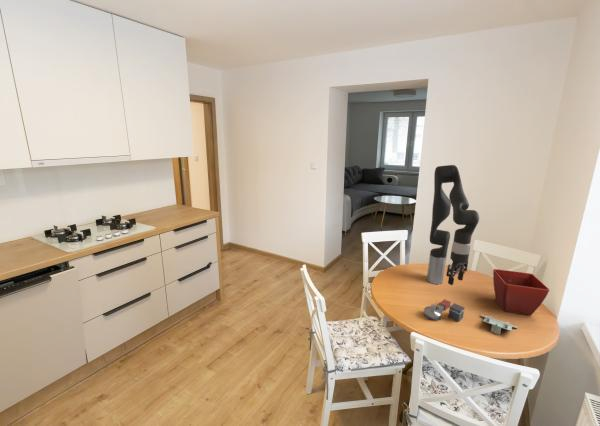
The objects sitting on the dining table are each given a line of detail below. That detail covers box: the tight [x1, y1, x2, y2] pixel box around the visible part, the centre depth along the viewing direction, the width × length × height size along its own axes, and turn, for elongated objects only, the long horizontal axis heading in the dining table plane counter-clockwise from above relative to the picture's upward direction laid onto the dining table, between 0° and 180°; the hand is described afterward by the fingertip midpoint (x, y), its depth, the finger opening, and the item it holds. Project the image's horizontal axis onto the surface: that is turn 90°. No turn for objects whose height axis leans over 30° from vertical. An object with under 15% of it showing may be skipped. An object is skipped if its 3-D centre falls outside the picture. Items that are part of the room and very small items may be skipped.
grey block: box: [447, 303, 465, 323], centre depth 148 cm, size 5×5×6 cm
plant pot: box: [492, 268, 550, 316], centre depth 157 cm, size 19×19×17 cm
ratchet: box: [423, 299, 452, 322], centre depth 153 cm, size 20×8×6 cm, turn 129°
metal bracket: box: [480, 314, 518, 336], centre depth 142 cm, size 14×6×15 cm
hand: (455, 282), depth 145 cm, fingers open, 8 cm apart
